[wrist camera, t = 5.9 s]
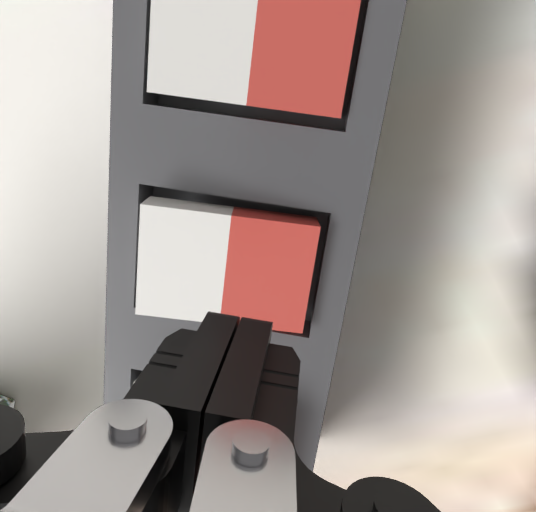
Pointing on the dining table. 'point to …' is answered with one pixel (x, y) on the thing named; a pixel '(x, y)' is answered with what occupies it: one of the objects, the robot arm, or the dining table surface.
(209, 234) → the middle rocker
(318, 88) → the block
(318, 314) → the power strip
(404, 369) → the dining table surface
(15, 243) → the dining table surface
